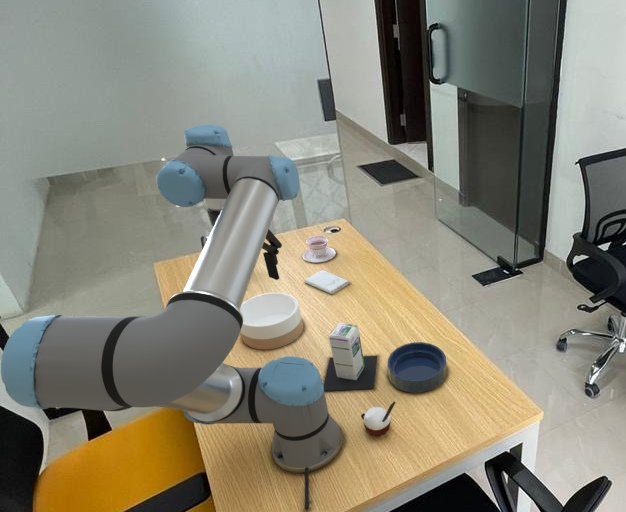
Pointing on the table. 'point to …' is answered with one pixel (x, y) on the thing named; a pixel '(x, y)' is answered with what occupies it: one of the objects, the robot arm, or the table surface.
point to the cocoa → (377, 420)
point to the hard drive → (327, 282)
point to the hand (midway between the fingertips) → (251, 291)
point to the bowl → (270, 320)
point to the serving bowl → (417, 367)
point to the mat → (343, 384)
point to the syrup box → (347, 351)
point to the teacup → (318, 250)
